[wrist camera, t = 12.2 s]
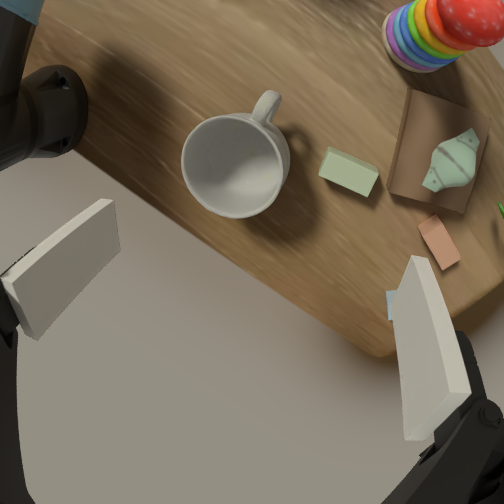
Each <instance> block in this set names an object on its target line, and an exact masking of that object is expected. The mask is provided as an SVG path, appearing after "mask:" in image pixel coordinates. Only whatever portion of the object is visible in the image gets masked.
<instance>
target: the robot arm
mask: <svg viewBox="0 0 504 504" xmlns="http://www.w3.org/2000/svg"><path fill="white" fill-rule="evenodd" d="M43 3H44V0H0V171H2V170H4V169H6V168H8V167H10V166H12V165H14V164H16V163H18V162H20V161H22V160H24V159H27V158H53V157H57V156H60V155H62V154H65V153H66V152H69V151H70V150H72V149H73V148H74V147H75V146H76V145H77V144H78V142H79V141H80V139H81V137H82V135H83V133H84V130H85V126H86V121H87V112H88V107H87V97H86V93H85V89H84V86H83V84H82V82H81V80H80V78H79V77H78V75H77V74H76V73H75V72H74V71H73V70H72V69H70V68H69V67H67V66H64V65H52V66H46V67H43V68H40V69H38V70H37V71H35V72H33V73H32V74H30V75H28V76H27V77H25V78H24V79H22V75H23V71H24V67H25V63H26V59H27V55H28V52H29V48H30V45H31V42H32V38H33V35H34V32H35V29H36V26H38V24H39V22H38V19H39V16H40V12H41V9H42V6H43ZM21 79H22V80H21ZM119 252H120V244H119V237H118V230H117V222H116V214H115V206H114V200H110V199H104V198H101V199H99V200H98V201H96V202H95V203H94V204H92V205H91V206H89V207H88V208H87V209H85V210H84V211H82V212H81V213H80V214H78V215H77V216H75V217H74V218H73V219H71V220H70V221H69V222H67V223H66V224H65V225H63V226H62V227H61V228H59V229H58V230H57V231H55V232H54V233H53V234H52V235H51V236H49V237H48V238H47V239H46V240H44V241H43V242H42V243H40V244H39V245H38V246H36V247H34V248H32V249H31V250H29V251H28V252H27V253H26V254H25V255H24V257H23V256H22V257H21V258H20V259H19V260H18V261H17V262H15V263H14V264H13V265H12V266H10V267H9V268H8V269H7V270H6V271H5V272H4V273H2V274H1V275H0V504H35V502H34V501H33V499H32V498H31V496H30V495H29V493H28V491H27V488H26V484H25V478H24V472H23V465H22V458H21V450H20V441H19V430H18V416H17V389H16V388H17V386H16V376H17V374H16V373H17V344H18V332H17V330H16V327H17V326H18V325H19V323H20V325H21V327H22V329H23V331H24V333H25V334H26V335H28V336H29V337H32V338H33V339H35V340H39V338H40V337H41V336H42V335H43V334H44V333H45V331H46V330H47V329H48V328H49V327H50V325H51V324H52V323H53V322H54V321H55V320H56V318H57V317H58V316H59V315H60V314H61V313H62V312H63V311H64V310H65V308H66V307H67V306H68V305H69V304H70V303H71V302H72V301H73V299H75V297H76V296H77V295H78V294H79V293H80V292H81V291H82V290H83V289H84V288H85V286H86V285H87V284H88V283H89V282H90V281H91V280H92V279H93V278H94V277H95V276H96V275H97V274H98V273H99V272H100V271H101V270H102V269H103V267H105V266H106V265H107V264H108V263H109V262H110V261H111V259H112V258H114V256H115V255H116V254H117V253H119ZM390 308H391V314H392V320H393V326H394V333H395V340H396V348H397V355H398V364H399V373H400V383H401V393H402V407H403V423H404V440H425V439H427V438H428V437H429V436H430V435H431V434H432V433H433V432H434V439H435V442H434V443H433V444H432V445H430V446H429V447H428V448H427V449H426V450H425V451H423V452H422V453H421V454H420V455H419V456H420V457H421V458H420V460H419V461H418V462H417V464H416V465H415V466H414V467H413V468H412V470H411V471H410V472H409V473H408V474H407V475H406V477H405V478H404V479H403V480H402V481H401V482H400V484H399V485H398V486H397V487H396V488H395V489H394V490H393V491H392V493H391V494H390V495H389V496H388V497H387V498H386V499H385V500H384V501H383V502H382V503H381V504H504V418H503V414H502V412H501V410H500V408H499V407H498V406H497V405H496V404H495V403H494V402H492V401H490V400H488V399H487V396H486V393H485V389H484V385H483V381H482V378H481V374H480V371H479V367H478V366H477V361H476V358H475V356H474V351H473V348H472V345H471V342H470V341H469V339H468V338H467V337H466V335H465V334H464V332H462V331H456V330H454V328H453V325H452V322H451V319H450V316H449V313H448V310H447V307H446V305H445V302H444V299H443V296H442V294H441V291H440V288H439V286H438V283H437V281H436V278H435V276H434V273H433V271H432V268H431V266H430V263H429V261H428V258H423V257H419V256H414V255H411V257H410V260H409V263H408V265H407V268H406V270H405V273H404V275H403V278H402V280H401V283H400V285H399V287H398V290H397V292H396V294H395V297H394V299H393V301H392V304H391V306H390Z"/></svg>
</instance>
